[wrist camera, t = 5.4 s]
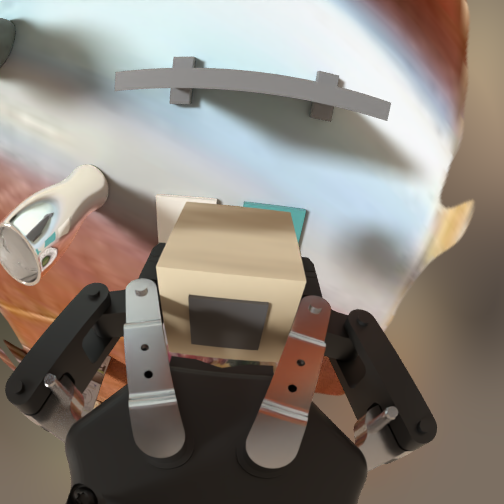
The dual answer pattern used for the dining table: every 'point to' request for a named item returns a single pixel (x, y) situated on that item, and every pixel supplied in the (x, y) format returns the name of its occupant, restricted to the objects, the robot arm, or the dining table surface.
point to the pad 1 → (172, 212)
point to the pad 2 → (296, 213)
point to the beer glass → (49, 223)
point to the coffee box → (94, 388)
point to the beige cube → (230, 282)
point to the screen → (253, 87)
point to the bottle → (6, 39)
